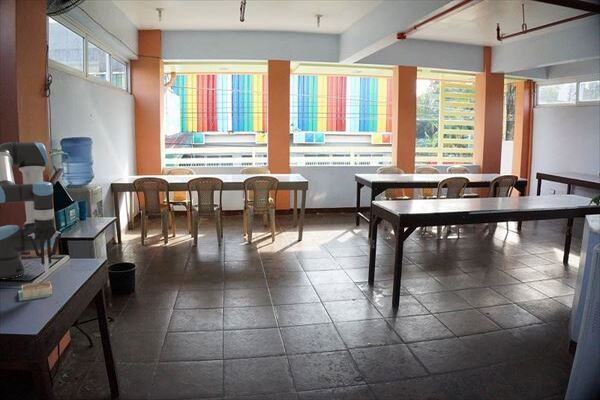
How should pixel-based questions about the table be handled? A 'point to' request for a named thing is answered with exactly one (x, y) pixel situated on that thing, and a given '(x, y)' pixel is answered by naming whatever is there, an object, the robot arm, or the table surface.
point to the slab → (36, 289)
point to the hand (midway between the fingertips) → (46, 270)
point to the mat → (30, 297)
